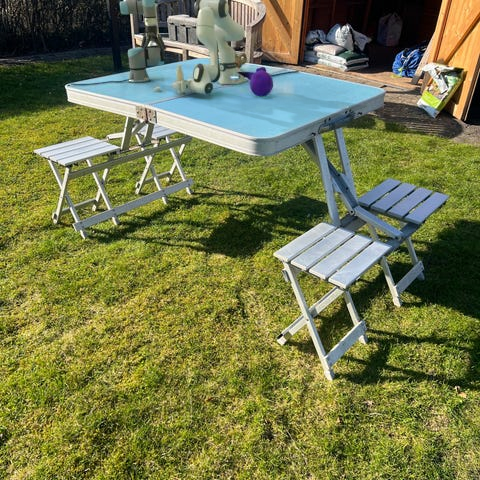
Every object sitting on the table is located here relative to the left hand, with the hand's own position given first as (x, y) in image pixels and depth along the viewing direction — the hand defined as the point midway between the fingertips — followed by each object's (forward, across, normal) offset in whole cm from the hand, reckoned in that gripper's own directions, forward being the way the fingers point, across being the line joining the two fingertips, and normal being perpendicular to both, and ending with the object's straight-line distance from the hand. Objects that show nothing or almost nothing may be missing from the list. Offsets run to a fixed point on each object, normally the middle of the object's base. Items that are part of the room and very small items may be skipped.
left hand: (154, 60), depth 299 cm
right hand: (+13, +18, +3) cm, 22 cm away
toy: (+19, +66, +23) cm, 72 cm away
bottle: (+20, +19, +2) cm, 27 cm away
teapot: (+21, +5, +89) cm, 91 cm away
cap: (+18, +1, -1) cm, 18 cm away
